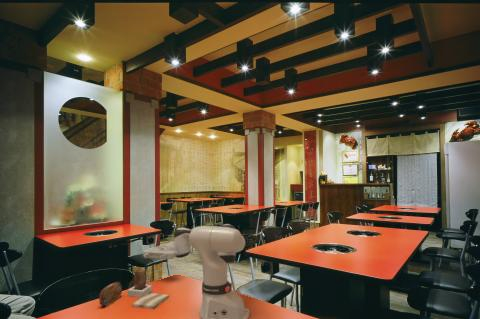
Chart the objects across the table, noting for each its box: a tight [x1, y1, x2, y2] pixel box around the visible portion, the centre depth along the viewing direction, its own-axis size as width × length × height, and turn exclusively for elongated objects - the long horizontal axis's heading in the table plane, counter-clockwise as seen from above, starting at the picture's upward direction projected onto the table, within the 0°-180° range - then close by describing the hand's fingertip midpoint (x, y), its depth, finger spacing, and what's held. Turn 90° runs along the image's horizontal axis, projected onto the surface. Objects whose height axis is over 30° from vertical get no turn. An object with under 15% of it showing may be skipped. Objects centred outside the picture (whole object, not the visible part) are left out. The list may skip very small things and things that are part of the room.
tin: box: [98, 281, 123, 307], centre depth 143 cm, size 15×3×8 cm, turn 168°
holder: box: [127, 284, 153, 298], centre depth 153 cm, size 9×9×3 cm
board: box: [131, 292, 170, 310], centre depth 142 cm, size 12×14×1 cm
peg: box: [134, 268, 147, 290], centre depth 153 cm, size 4×4×12 cm
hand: (152, 257), depth 166 cm, fingers open, 8 cm apart
